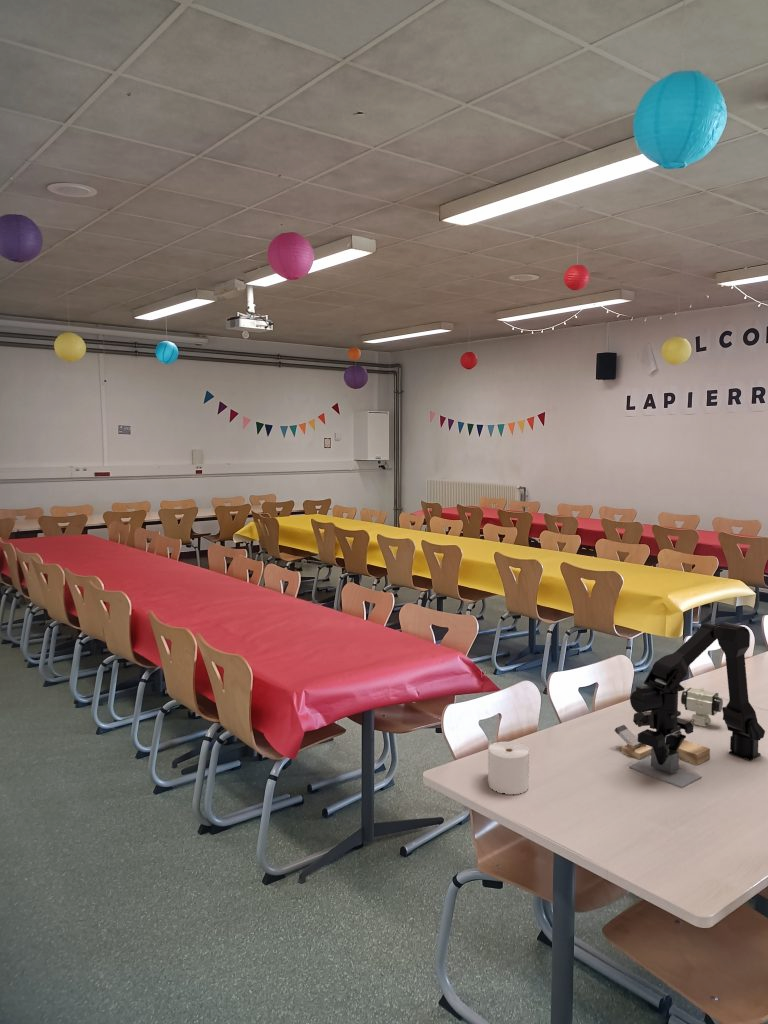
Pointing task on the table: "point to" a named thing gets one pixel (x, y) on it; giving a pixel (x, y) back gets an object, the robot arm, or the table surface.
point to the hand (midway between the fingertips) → (665, 762)
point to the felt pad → (666, 773)
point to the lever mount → (636, 751)
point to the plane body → (693, 752)
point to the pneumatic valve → (701, 705)
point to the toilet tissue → (508, 767)
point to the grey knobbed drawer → (666, 761)
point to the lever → (627, 735)
